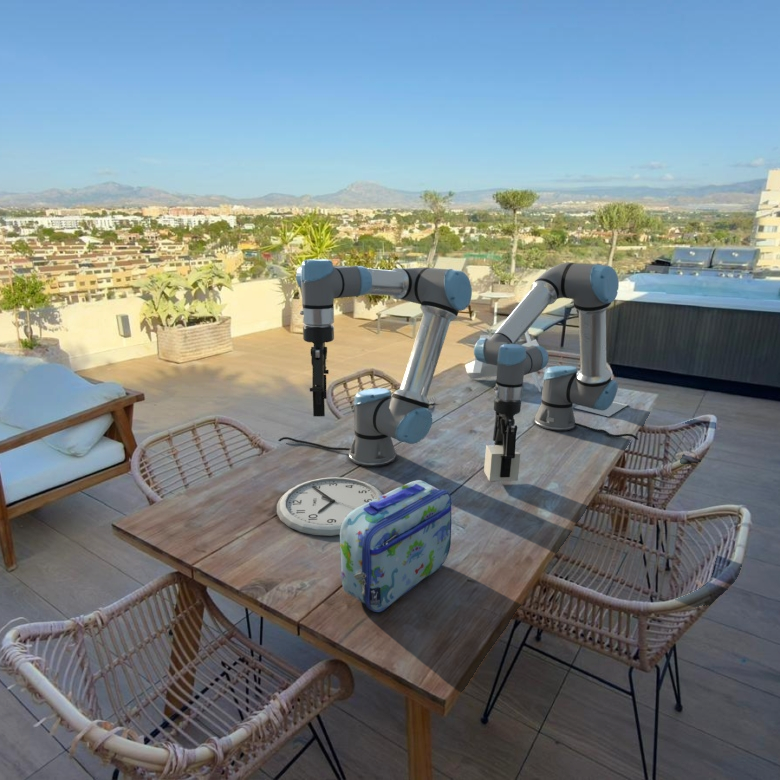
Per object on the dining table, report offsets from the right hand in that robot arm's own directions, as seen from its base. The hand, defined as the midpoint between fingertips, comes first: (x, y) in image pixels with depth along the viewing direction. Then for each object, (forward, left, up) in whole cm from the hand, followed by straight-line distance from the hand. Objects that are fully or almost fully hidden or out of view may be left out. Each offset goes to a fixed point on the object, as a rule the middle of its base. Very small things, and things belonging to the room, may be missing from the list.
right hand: (501, 471), depth 157 cm
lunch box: (+26, +51, -4) cm, 57 cm away
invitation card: (-49, -78, -4) cm, 92 cm away
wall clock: (+47, +21, -4) cm, 52 cm away
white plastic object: (-10, -103, -4) cm, 103 cm away
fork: (+25, -66, -4) cm, 71 cm away
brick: (0, 0, -2) cm, 2 cm away
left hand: (+49, +22, +25) cm, 60 cm away
